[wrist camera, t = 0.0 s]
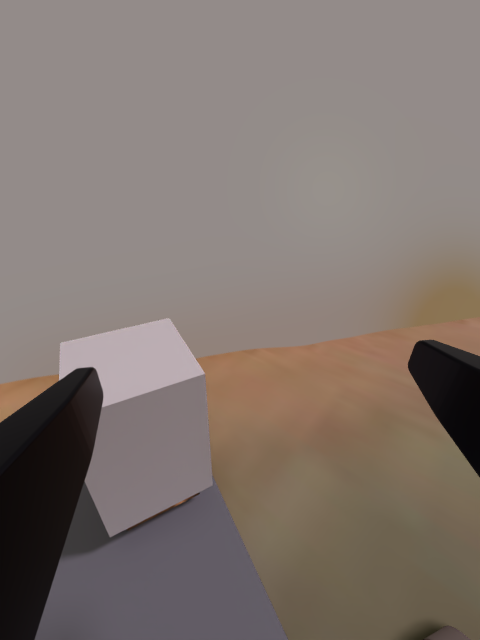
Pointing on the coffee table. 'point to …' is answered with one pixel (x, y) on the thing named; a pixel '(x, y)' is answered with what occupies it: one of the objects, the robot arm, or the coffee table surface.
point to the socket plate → (158, 578)
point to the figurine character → (447, 634)
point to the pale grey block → (144, 421)
